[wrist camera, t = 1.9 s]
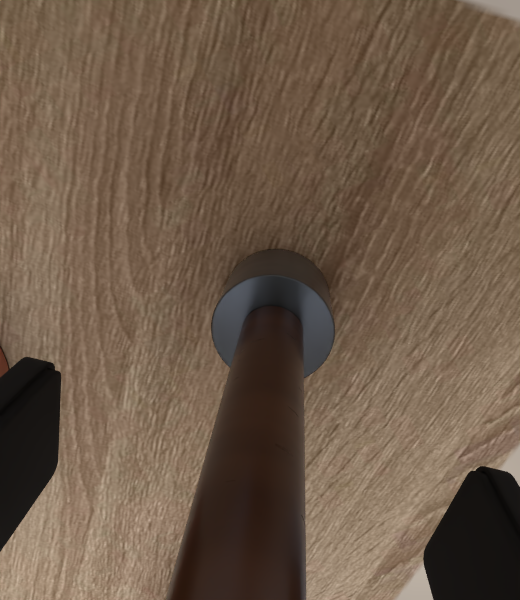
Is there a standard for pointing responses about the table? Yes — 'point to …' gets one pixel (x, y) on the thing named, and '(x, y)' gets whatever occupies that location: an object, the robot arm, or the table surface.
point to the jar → (3, 364)
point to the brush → (257, 436)
